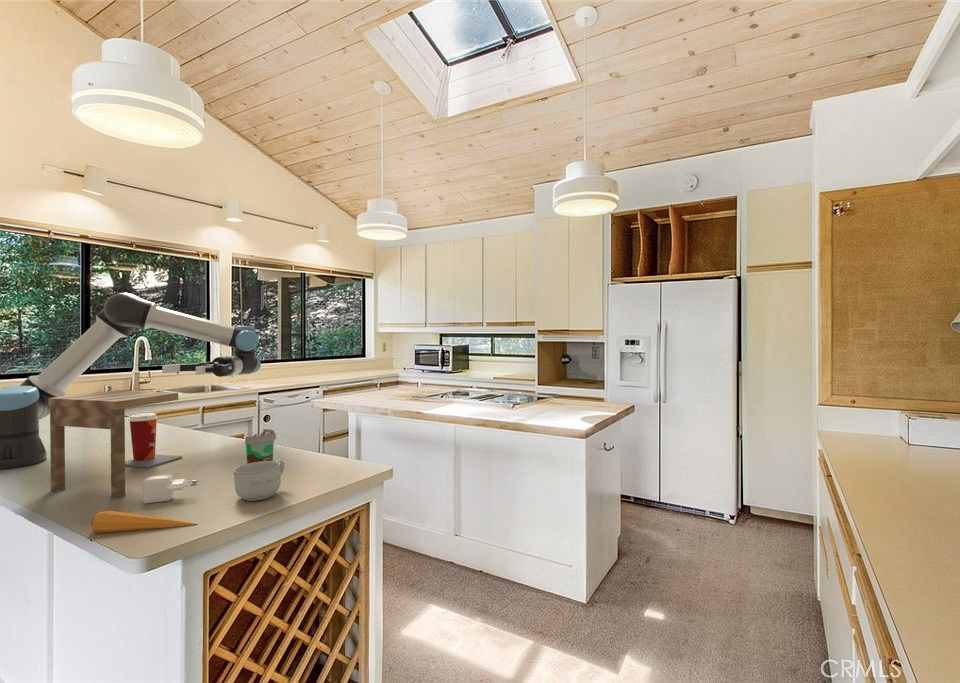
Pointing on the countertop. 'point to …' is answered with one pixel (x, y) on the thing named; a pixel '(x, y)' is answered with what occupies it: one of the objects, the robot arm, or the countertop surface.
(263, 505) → the countertop surface
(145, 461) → the slate mat
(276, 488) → the teacup
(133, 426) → the paper cup
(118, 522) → the carrot
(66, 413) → the canopy shelf
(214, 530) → the countertop surface
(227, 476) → the countertop surface
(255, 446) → the food container
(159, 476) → the power adapter
